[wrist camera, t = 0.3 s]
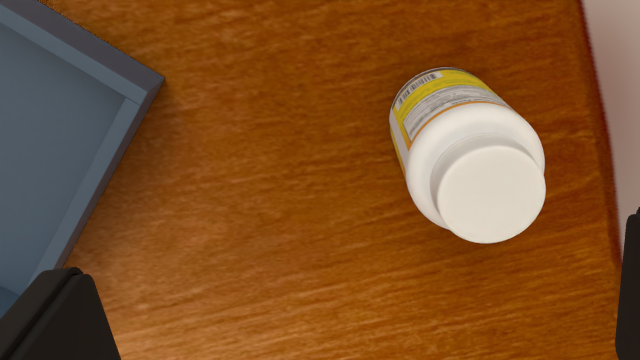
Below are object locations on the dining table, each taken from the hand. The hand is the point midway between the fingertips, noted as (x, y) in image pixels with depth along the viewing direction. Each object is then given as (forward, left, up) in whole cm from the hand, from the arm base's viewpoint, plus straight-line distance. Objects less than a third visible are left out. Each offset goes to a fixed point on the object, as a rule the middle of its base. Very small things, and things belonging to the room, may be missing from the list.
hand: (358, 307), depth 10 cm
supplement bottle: (-1, +6, -21) cm, 22 cm away
